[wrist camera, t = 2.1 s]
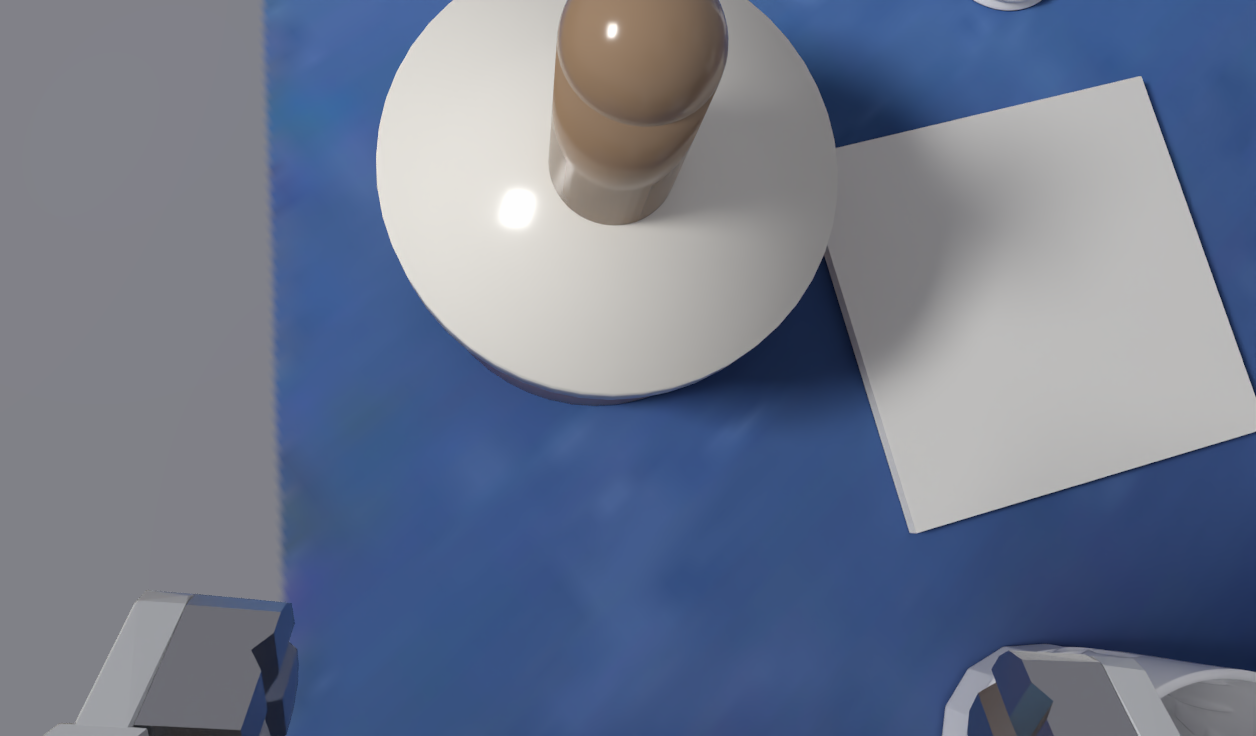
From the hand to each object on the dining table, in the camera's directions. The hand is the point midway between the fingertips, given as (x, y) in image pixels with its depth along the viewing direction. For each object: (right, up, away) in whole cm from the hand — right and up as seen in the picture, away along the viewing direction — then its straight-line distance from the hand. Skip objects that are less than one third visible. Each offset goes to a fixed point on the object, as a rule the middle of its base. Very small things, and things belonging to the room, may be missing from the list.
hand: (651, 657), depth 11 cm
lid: (-1, +9, +18) cm, 20 cm away
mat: (+15, +6, +25) cm, 29 cm away
